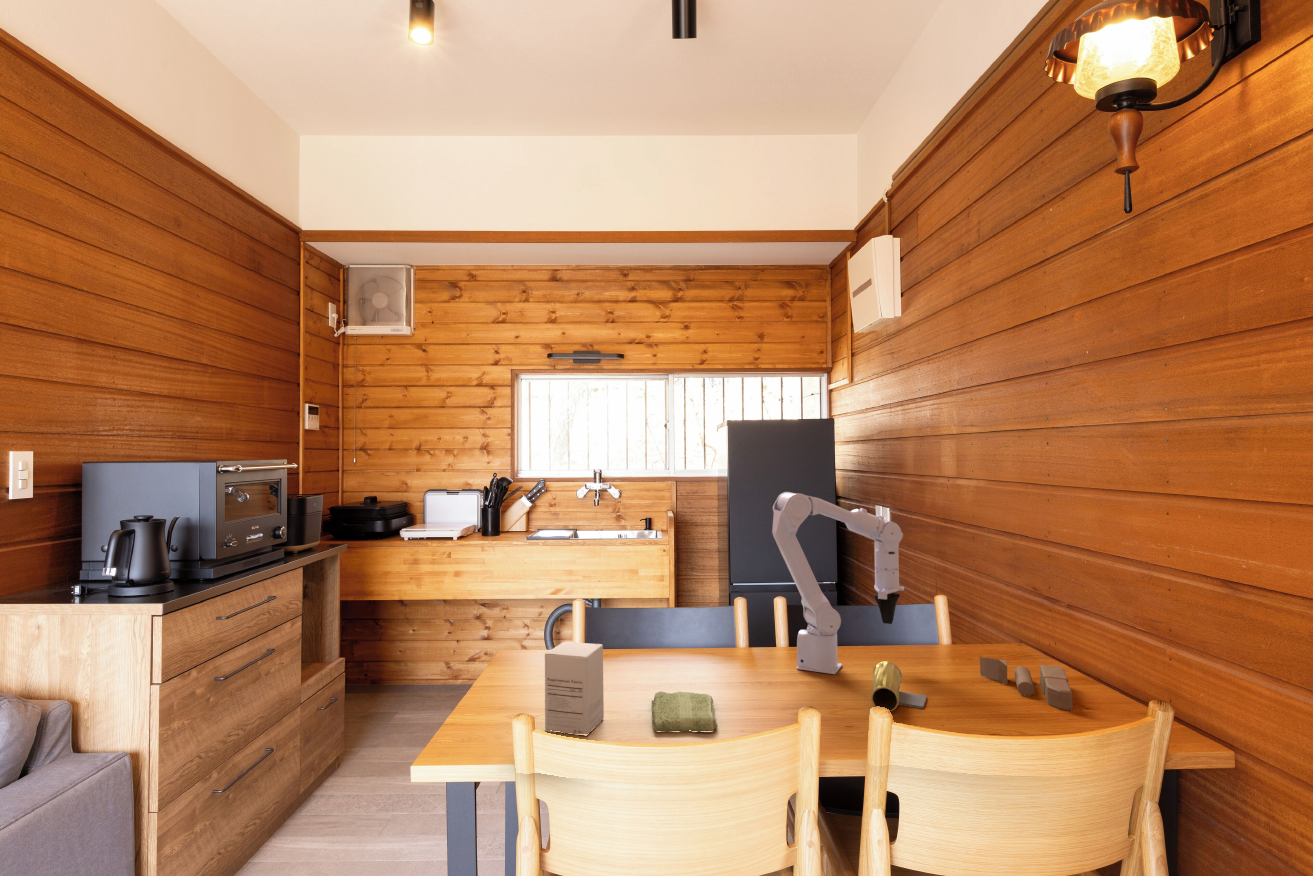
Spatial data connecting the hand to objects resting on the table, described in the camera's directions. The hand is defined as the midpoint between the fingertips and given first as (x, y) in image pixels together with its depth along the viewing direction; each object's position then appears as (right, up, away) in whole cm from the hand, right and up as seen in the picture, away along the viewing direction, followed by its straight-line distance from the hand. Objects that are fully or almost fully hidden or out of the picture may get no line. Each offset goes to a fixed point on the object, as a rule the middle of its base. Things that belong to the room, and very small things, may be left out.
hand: (887, 623), depth 165 cm
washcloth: (-53, -10, -32) cm, 63 cm away
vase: (-7, -6, -18) cm, 20 cm away
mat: (-6, -10, -24) cm, 26 cm away
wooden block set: (+23, -10, -19) cm, 32 cm away
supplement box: (-74, -10, -37) cm, 83 cm away
